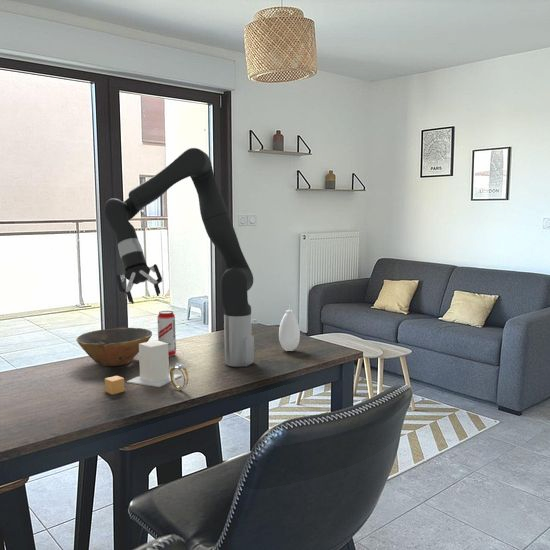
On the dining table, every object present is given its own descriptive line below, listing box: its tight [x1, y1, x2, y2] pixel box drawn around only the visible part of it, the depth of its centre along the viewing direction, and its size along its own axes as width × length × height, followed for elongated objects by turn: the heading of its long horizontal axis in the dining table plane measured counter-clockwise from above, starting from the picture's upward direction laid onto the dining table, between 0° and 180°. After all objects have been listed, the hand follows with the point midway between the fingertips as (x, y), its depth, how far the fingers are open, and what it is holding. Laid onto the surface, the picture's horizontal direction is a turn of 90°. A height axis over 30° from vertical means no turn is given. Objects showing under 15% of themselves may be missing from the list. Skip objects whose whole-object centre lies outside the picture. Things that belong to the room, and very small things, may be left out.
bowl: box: [76, 327, 153, 367], centre depth 194 cm, size 25×25×10 cm
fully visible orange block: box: [104, 375, 126, 396], centre depth 163 cm, size 4×4×4 cm
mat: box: [126, 372, 183, 388], centre depth 175 cm, size 12×12×1 cm
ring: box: [169, 362, 189, 391], centre depth 164 cm, size 7×3×8 cm, turn 44°
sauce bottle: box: [278, 303, 301, 352], centre depth 207 cm, size 8×8×18 cm
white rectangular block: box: [138, 339, 170, 382], centre depth 174 cm, size 6×6×11 cm
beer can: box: [157, 310, 177, 358], centre depth 203 cm, size 6×6×16 cm
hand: (145, 299), depth 186 cm, fingers open, 8 cm apart
